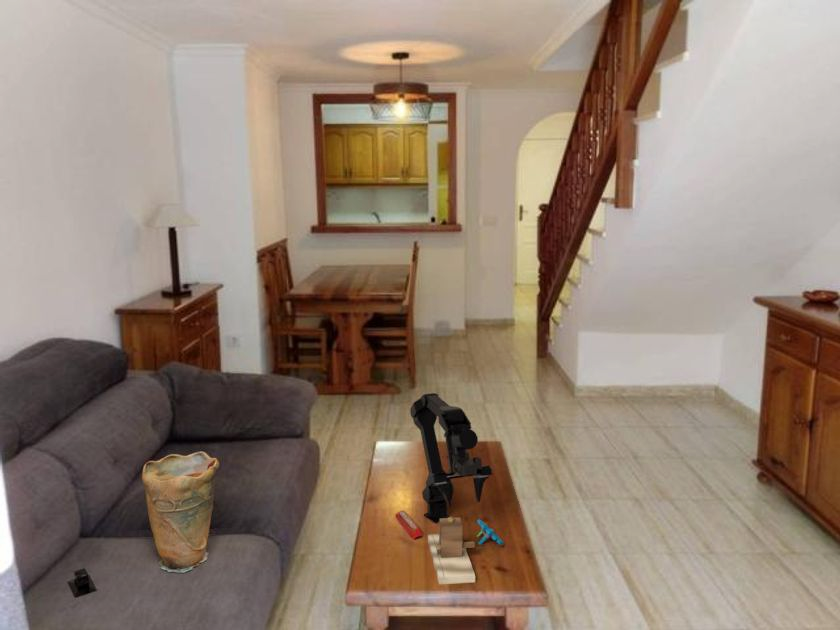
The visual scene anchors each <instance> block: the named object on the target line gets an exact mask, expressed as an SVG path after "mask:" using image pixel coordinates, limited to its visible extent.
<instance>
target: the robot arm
mask: <svg viewBox="0 0 840 630" xmlns="http://www.w3.org/2000/svg"><path fill="white" fill-rule="evenodd" d="M409 409H410V410H409V411H410V413H409V414H410V416H411V418H412V420H413V423H414V425H415V426H416V427H417V428H418V430H420V436H421V439H422V445H423V450H424V455H425V460H426V465H427V470H428V474H427V475H428V476H427V478H426V481H425V487H424V489H423V490H422V492H421V494H422V499H423V500H424V502H425V503H426V504H427V509H426V510H427V512H425V513H423V517H425V518H427V520H429V521H431V522H432V523H435V524H437V523H439V521H440V519H441V518H448V517H451V515H450V514H448V507H449V508H451V507H452V501H453V496H454V491H455V488H454V484H453V483H452V479H453V480H454V479H461V478H466V477H472V480H473V485H474V487H473V488H474V493H475V498H476V501H477V503H480V502H481V498H482V494H483V493H482V492H483V487H484V484H485V482H486V480H487V479H489V478H490V476H491V475H493V474H494V472H493V468H492V467H491V465H483V463H482V458H481V457H480V456H475V457H473V458H470V454H469V452H468V450H471V449H472V450H473V449H475V447H476V445H477V444H478V435H477V433H476V432H475V431H474V430H472V425H471V424H472V423H471V421H470V420H469V418H468V417H467V415H466V412H465V411H464V410H463V408H461V407H459V406H452V405H449V403H447V402H446V401H444V400H443V398H441V397H439V393H435V392H431V393H424V394H422V395H421V396H420V398H418V399H417V400H415V401H413V403H412V405H411V407H410V408H409ZM437 418H438V423H439V426H440V427H441V428H442V429H443V431H444V434H443V437H444V438H445V443H446V444H445V445H446V450H447V451H446V452H447V455H446V459H447V460H448V465H449V469H448V472H446V471H445V470H444V468H443V463H442V458H441V454H440V453H441V452H440V449H439V444H438V440H437V435H436V430H435V424H436V422H437ZM473 476H474V477H473Z"/></svg>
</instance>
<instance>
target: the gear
mask: <svg viewBox="0 0 840 630" xmlns="http://www.w3.org/2000/svg"><path fill="white" fill-rule="evenodd" d="M477 523H478V524H479V525H480V531H479V533H478V534H477V535H476V537H477V538H480V537H481V535H482V534H483V535H484V536H483V537H482V538H481V539H480V540H479V541H478V545H479V546H482V545H483V543H484V542H485V541H486V540H487V539H490V537H491V539H493V541H496V543H498V545H500V546H503V545H504V542H503V540H502V539H501V538H500V536H499V535H497V533H495V532H494V529H493V528H490V526H488V524H487V523H485V522H484V521H483V520H481V519H480V518H479V519H478V520H477Z"/></svg>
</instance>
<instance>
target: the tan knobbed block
mask: <svg viewBox="0 0 840 630" xmlns="http://www.w3.org/2000/svg"><path fill="white" fill-rule="evenodd" d="M438 523H439V525H438V527H439V528H438V529H439V530H438V531H439V533H438V534H439V544H437V546H436V548H437V554H439V552H440V555H441V558H442V557H458V556H462V548H466V549H470V548H475V546H476V545H475V541H463V542H462V540H463V522H462V519H461V517H454V516H450V517H448V518H441V519H440V521H439V522H438Z"/></svg>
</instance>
